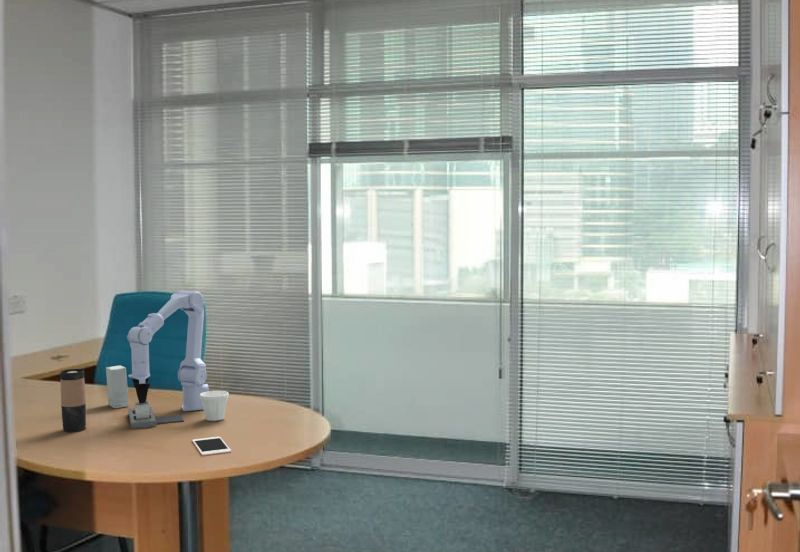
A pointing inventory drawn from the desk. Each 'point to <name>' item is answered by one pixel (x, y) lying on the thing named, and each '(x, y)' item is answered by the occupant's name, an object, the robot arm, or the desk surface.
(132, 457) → the desk surface
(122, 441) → the desk surface
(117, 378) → the skincare box
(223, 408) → the cup
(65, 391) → the travel mug
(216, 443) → the cell phone
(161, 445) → the desk surface
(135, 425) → the grey flat block
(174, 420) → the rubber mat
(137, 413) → the grey boxy piece
